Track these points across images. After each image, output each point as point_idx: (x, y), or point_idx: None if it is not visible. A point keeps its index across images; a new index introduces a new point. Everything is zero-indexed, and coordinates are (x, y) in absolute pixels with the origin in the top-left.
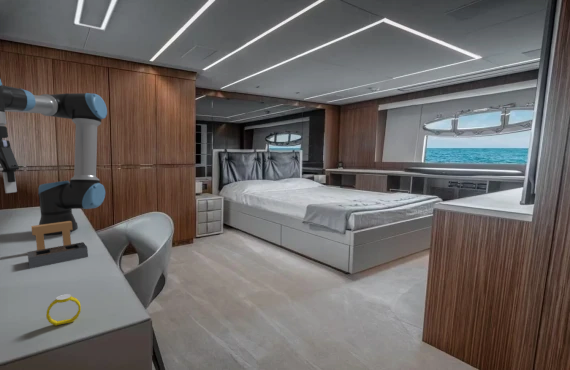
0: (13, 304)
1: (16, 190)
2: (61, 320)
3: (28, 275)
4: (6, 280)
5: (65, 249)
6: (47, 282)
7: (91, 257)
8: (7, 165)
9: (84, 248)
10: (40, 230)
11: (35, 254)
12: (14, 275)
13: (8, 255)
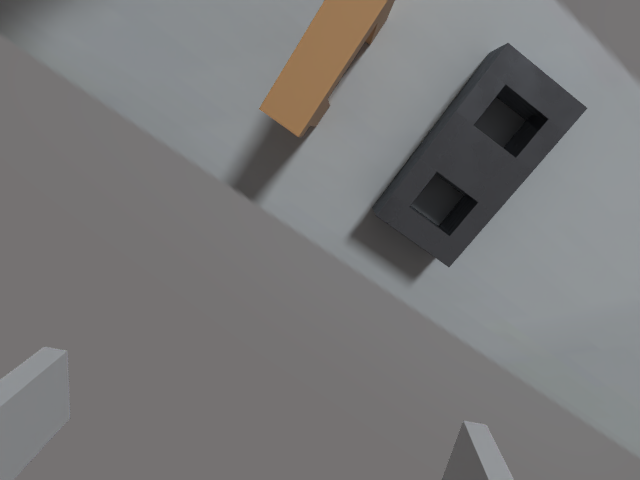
0: (609, 420)
1: (490, 438)
2: None
3: (488, 295)
4: (457, 332)
5: (510, 158)
6: (592, 322)
7: None
8: None
9: (576, 118)
10: (320, 106)
11: (438, 232)
12: (444, 303)
13: (222, 168)
